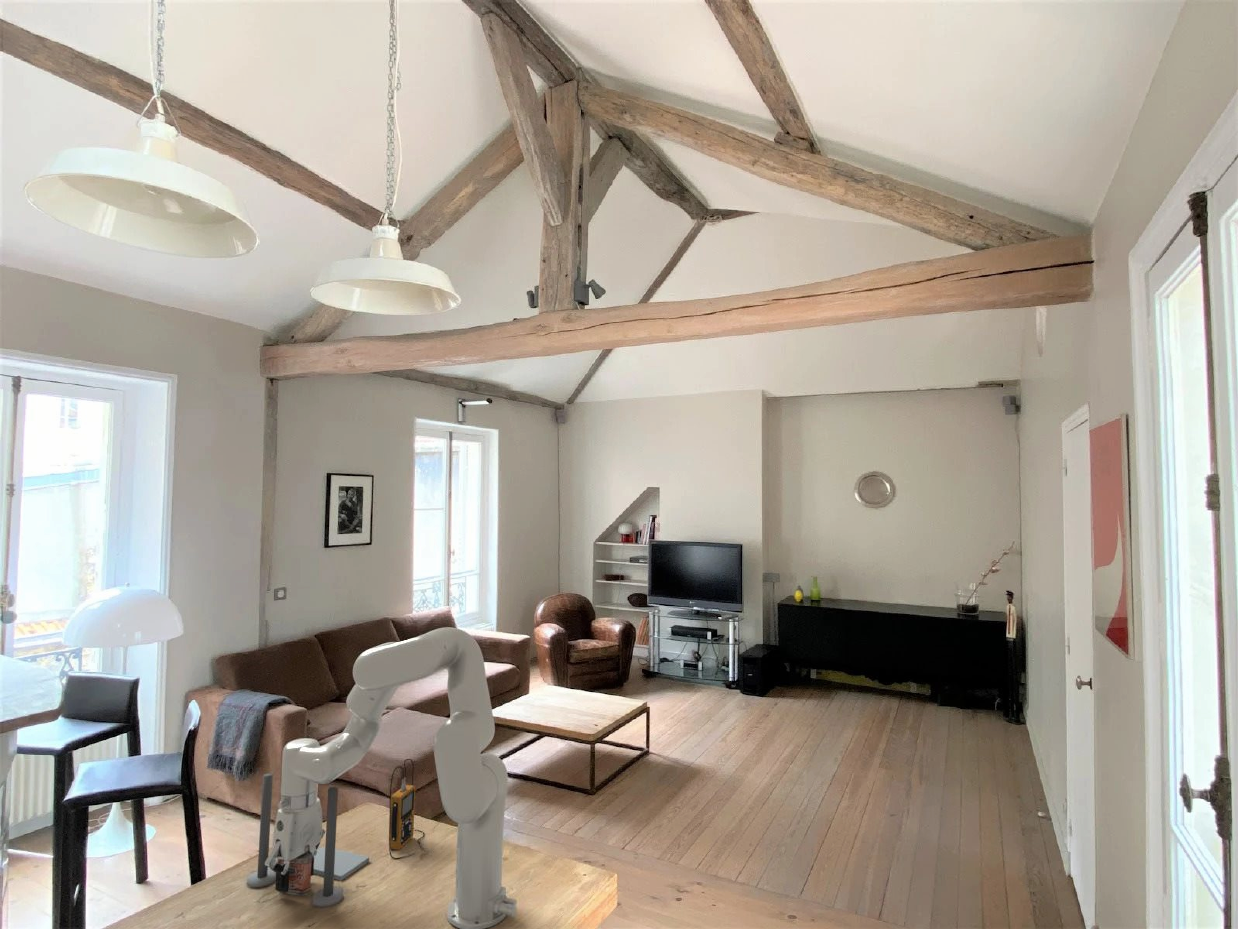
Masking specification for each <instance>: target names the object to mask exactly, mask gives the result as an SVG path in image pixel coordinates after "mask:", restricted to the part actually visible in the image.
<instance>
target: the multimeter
mask: <svg viewBox="0 0 1238 929" xmlns="http://www.w3.org/2000/svg"><path fill="white" fill-rule="evenodd" d="M407 761H411V763H412V773H411V774H412V775H411V782H412V784H407V781H406V780H407V778H406V777H407V775H406V773H407V767H406V763H407ZM403 766H404V768H403V767H402V766H399V765H398V766H396V767H395V768H394V770H393V772H392V774H391V779H390V787H389V815H388V816H389V819H388V820H389V822H388V825H389V827H388V828H389V830H388V849H389V851H388V852H389V855H390V857H391V858H392V859H394V860H400V859H402V858H407V857H410V856H412V855H414V854H416V853H418V852H420V851H422V850H421V849H419V850H416V851H412V852H409V853H406V854H404V855H402V856H400V857H395V856H393V855H392V853H391V852H392V851H391V850H397V851H400V850H401V849H402V848H403V847H404V846H405V845H406V844H407V843H408V842H409V841H410V839H411V840H412V839H413V838H414V831H415V830H414V829H415V827H414V823H415V803H416V785H414V771H415V770H414V768H415V767H414V762H413V759H411V758H408V759H407V758H406V759H405V760H404V762H403ZM398 768H400V769H401V770H402V779H401V785H400V786H401V787H400V789H398V790H397V791H395V792H394V793H392V787H393V786H392V784H393V778H394V774H395V771H396V770H397V769H398ZM417 830H418V831H417V832H419V831H420V833H422V832H423V833H422V835H423V836H422V837H420V838H418V839H417V841H416V842H417V843H418V844H419V845H420V847H421V848H422V849H423V850H425V851H426V852H428V850H427V849H426V846H425V845H424V844H423V843H422V842H421V841H419V840H421V838H422V839H423V838H424V837H425V832H424V831H422V830H419V829H417Z"/></svg>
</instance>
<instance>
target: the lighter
mask: <svg viewBox="0 0 1238 929" xmlns="http://www.w3.org/2000/svg"><path fill="white" fill-rule="evenodd" d="M308 851H310V845H309V844H308V845H307V846H306V847H305V853H304V854H302V855H300V856H299V857H297V858H295V859H293V860H291V861H290V864H289V867H288V870H287V872H289V890H288V892H286V893H285V894H288V895H293V896H305V895H308V894H310V893H311V892H312V885H311V880H312V878H311V877H312V876H311V862H312V859H313V854H311V853H308ZM284 861H285V860H282V863H281V866H283V864H284Z"/></svg>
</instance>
